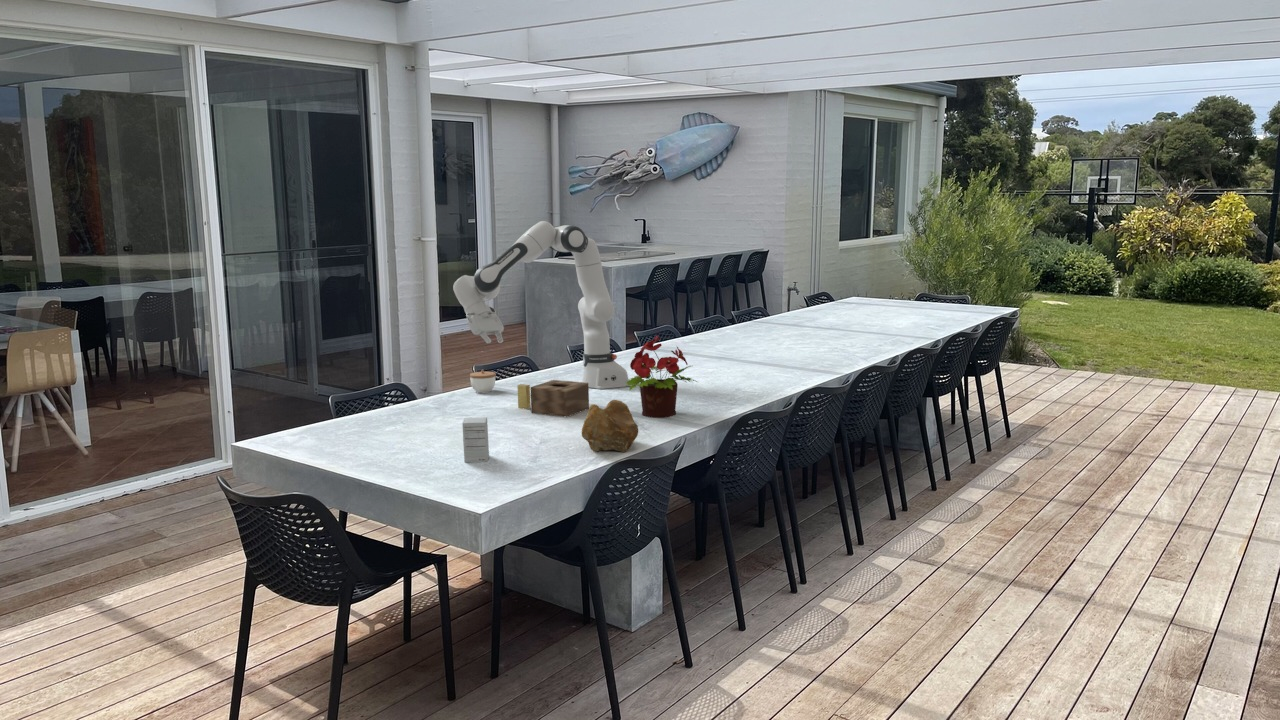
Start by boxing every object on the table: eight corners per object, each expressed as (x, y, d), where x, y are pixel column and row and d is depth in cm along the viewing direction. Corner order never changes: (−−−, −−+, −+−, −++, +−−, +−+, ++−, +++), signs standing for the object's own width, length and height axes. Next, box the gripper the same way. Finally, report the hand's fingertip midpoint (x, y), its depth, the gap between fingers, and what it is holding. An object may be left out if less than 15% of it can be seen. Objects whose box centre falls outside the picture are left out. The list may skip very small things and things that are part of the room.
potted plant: (650, 404, 374) (649, 328, 369) (709, 412, 359) (709, 333, 354) (604, 418, 351) (602, 338, 346) (665, 428, 335) (664, 343, 330)
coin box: (531, 413, 362) (530, 387, 360) (553, 404, 376) (553, 379, 374) (567, 416, 355) (566, 390, 353) (589, 408, 369) (588, 382, 367)
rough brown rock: (619, 462, 295) (623, 415, 293) (573, 452, 302) (576, 406, 300) (652, 447, 316) (655, 403, 313) (608, 438, 323) (611, 395, 320)
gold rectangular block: (518, 408, 371) (517, 385, 370) (521, 406, 373) (521, 384, 372) (526, 408, 369) (526, 386, 368) (530, 407, 372) (529, 384, 370)
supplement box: (465, 456, 302) (464, 417, 300) (489, 455, 303) (487, 416, 300) (463, 462, 295) (461, 422, 293) (487, 461, 295) (486, 422, 293)
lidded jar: (498, 389, 409) (498, 367, 408) (492, 394, 399) (491, 372, 397) (474, 389, 410) (473, 367, 409) (467, 394, 400) (466, 372, 398)
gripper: (470, 308, 369) (488, 338, 367) (496, 309, 389) (513, 337, 386) (458, 317, 371) (476, 347, 369) (485, 317, 391) (502, 346, 388)
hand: (495, 342), depth 378 cm, fingers open, 8 cm apart
